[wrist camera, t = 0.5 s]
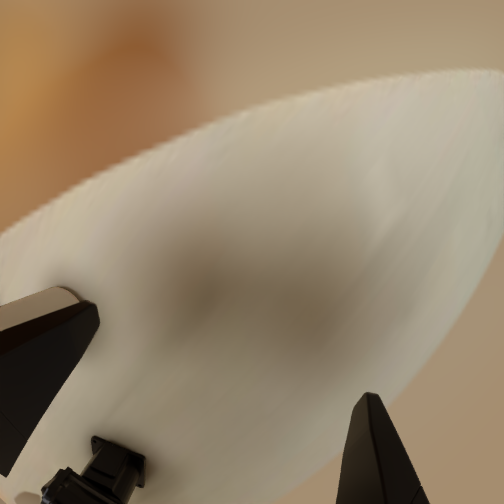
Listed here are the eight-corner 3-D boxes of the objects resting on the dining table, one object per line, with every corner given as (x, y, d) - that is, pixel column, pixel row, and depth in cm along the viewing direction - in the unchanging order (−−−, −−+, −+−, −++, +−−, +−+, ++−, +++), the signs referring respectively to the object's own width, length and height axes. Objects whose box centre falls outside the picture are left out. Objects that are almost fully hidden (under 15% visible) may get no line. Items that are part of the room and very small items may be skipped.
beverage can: (98, 355, 23) (19, 424, 11) (49, 345, 24) (-31, 396, 12) (89, 287, 23) (-12, 331, 11) (38, 283, 23) (-55, 315, 11)
